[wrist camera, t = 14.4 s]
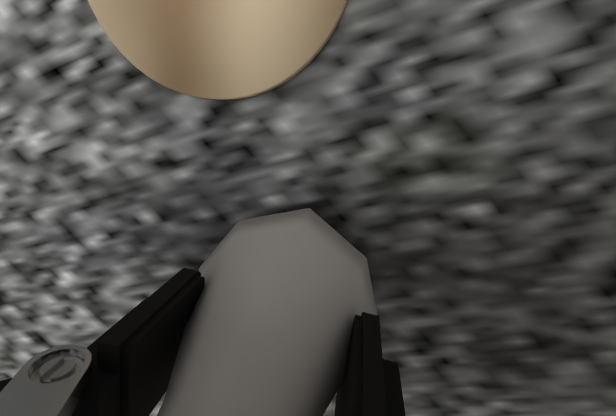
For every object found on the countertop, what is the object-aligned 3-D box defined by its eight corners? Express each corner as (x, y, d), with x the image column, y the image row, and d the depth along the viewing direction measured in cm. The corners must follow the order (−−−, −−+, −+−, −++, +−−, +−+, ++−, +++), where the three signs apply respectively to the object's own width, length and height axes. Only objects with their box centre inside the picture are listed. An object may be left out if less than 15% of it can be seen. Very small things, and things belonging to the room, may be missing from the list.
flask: (264, 385, 15) (91, 852, 5) (174, 256, 14) (-237, 560, 4) (410, 329, 13) (538, 910, 3) (319, 173, 12) (144, 400, 2)
